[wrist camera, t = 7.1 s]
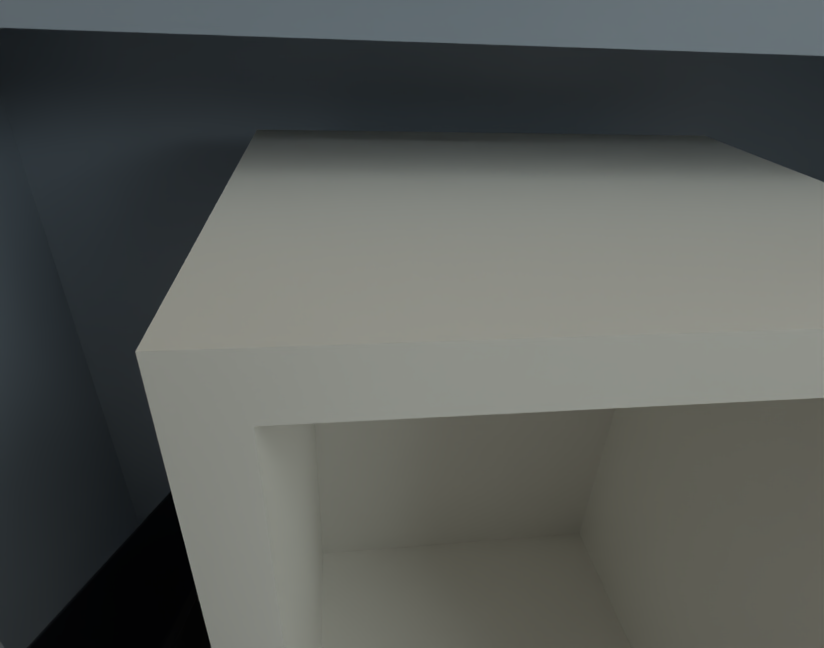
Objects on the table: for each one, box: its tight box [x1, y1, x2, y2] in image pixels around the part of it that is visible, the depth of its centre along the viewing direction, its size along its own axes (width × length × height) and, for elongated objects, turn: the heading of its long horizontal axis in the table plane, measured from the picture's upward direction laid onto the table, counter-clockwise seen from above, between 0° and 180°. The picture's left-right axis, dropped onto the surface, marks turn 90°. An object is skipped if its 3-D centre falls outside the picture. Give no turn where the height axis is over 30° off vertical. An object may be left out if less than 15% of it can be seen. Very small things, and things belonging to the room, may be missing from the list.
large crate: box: [0, 0, 824, 648], centre depth 9 cm, size 11×14×5 cm
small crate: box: [135, 130, 824, 648], centre depth 7 cm, size 8×6×5 cm
